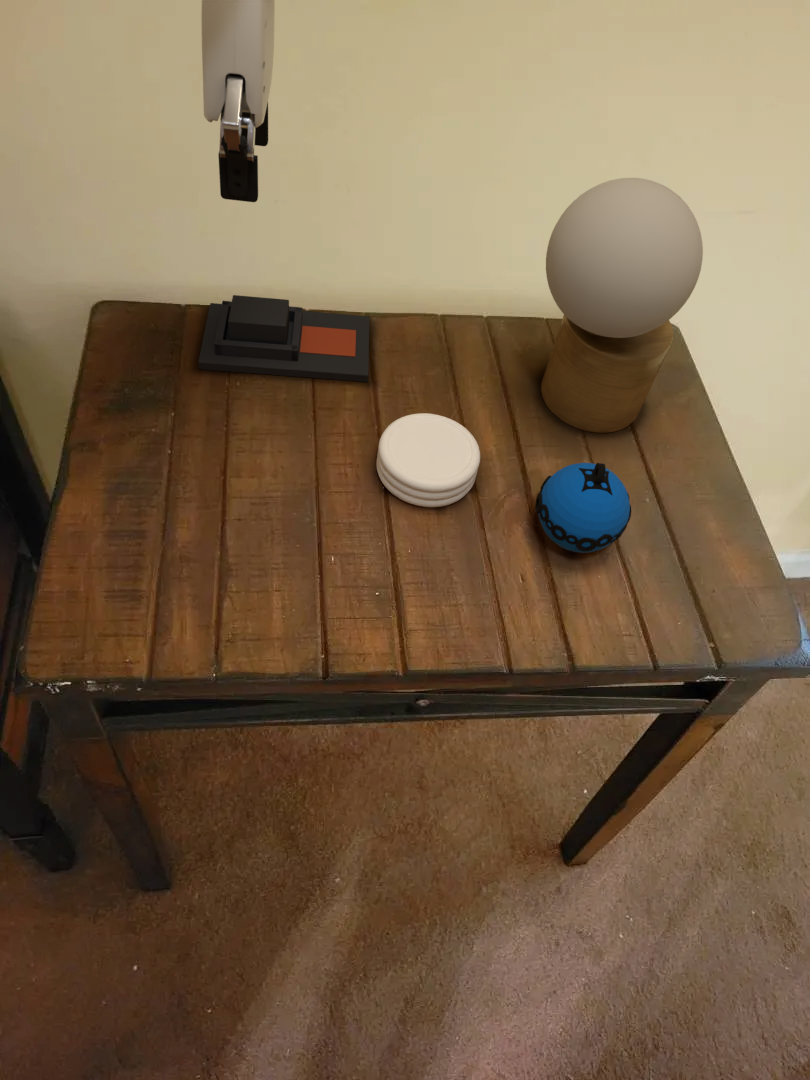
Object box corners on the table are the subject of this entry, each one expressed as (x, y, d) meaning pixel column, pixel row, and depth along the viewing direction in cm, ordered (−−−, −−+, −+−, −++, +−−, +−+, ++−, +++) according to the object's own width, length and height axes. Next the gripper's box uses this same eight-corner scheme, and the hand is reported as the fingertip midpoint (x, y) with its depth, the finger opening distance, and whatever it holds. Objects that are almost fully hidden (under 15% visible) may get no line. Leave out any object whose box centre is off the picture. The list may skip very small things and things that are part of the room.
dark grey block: (229, 347, 88) (228, 321, 86) (234, 320, 91) (232, 294, 88) (286, 352, 89) (285, 326, 86) (289, 325, 92) (289, 299, 89)
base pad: (198, 369, 87) (196, 351, 85) (210, 309, 93) (209, 291, 91) (367, 382, 89) (369, 364, 87) (368, 323, 95) (370, 305, 93)
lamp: (539, 457, 85) (615, 245, 65) (487, 367, 93) (542, 152, 73) (663, 434, 89) (771, 228, 69) (605, 349, 97) (686, 141, 77)
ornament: (619, 575, 77) (657, 509, 69) (529, 566, 77) (557, 498, 69) (609, 505, 82) (643, 435, 74) (525, 496, 82) (550, 425, 74)
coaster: (356, 476, 81) (358, 452, 78) (411, 420, 86) (415, 396, 83) (441, 526, 78) (447, 503, 75) (492, 465, 84) (499, 442, 81)
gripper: (204, -94, 66) (216, 119, 80) (169, -12, 56) (189, 218, 69) (297, -80, 67) (293, 129, 81) (280, 4, 57) (279, 227, 70)
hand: (245, 170), depth 75 cm, fingers open, 9 cm apart
